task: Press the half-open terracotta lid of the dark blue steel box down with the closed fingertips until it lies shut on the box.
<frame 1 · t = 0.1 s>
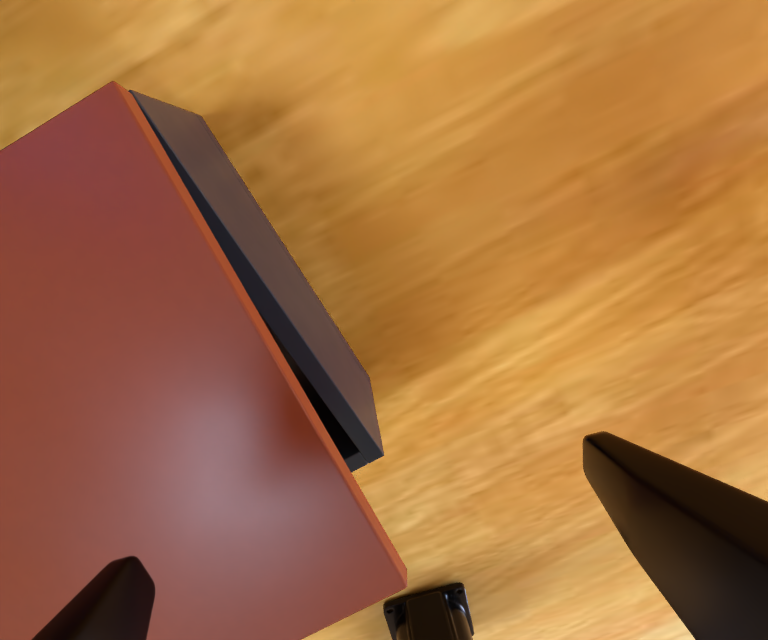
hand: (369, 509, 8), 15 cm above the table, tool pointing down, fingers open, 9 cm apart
lid: (93, 444, 12), point 10 cm above the table, hinge at 18.0°
box: (194, 323, 21), on the table
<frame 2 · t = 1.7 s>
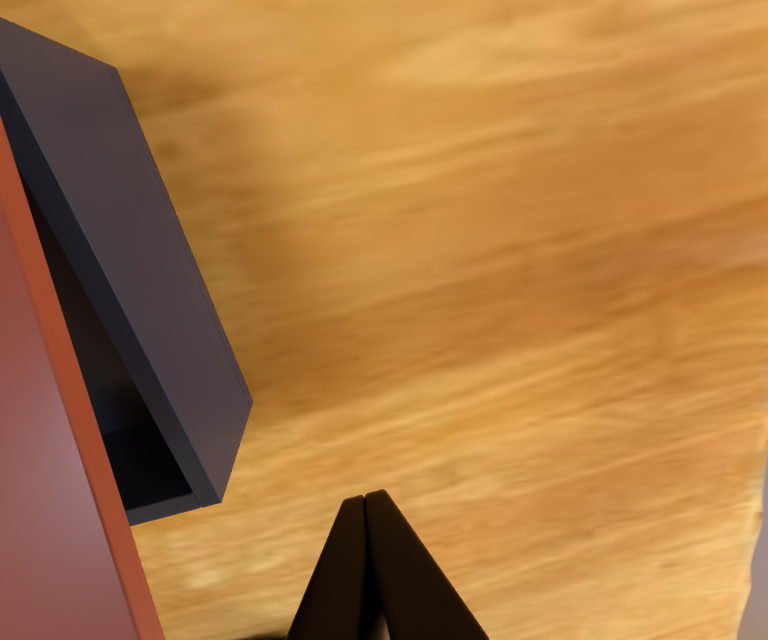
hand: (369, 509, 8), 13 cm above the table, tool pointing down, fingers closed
box: (58, 295, 18), on the table
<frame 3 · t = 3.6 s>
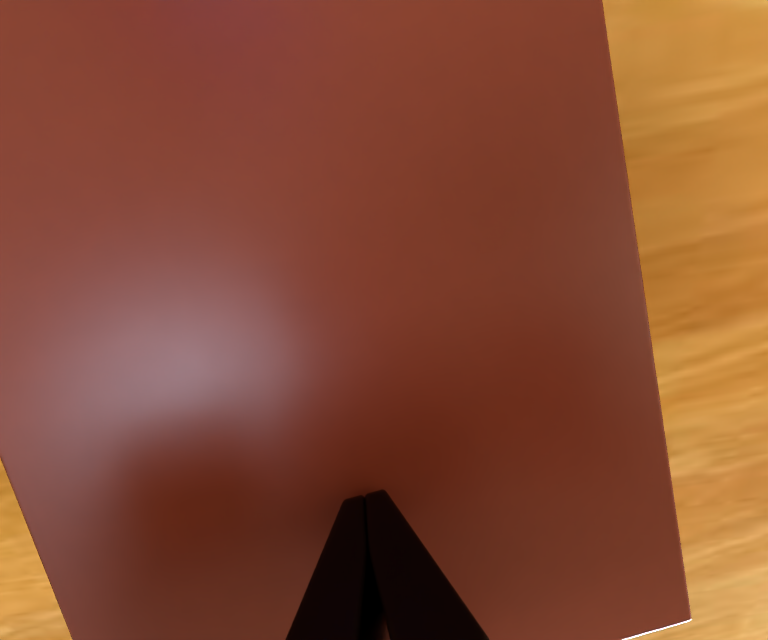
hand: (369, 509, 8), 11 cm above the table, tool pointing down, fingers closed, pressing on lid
lid: (325, 333, 8), point 9 cm above the table, hinge at 14.8°, touching gripper
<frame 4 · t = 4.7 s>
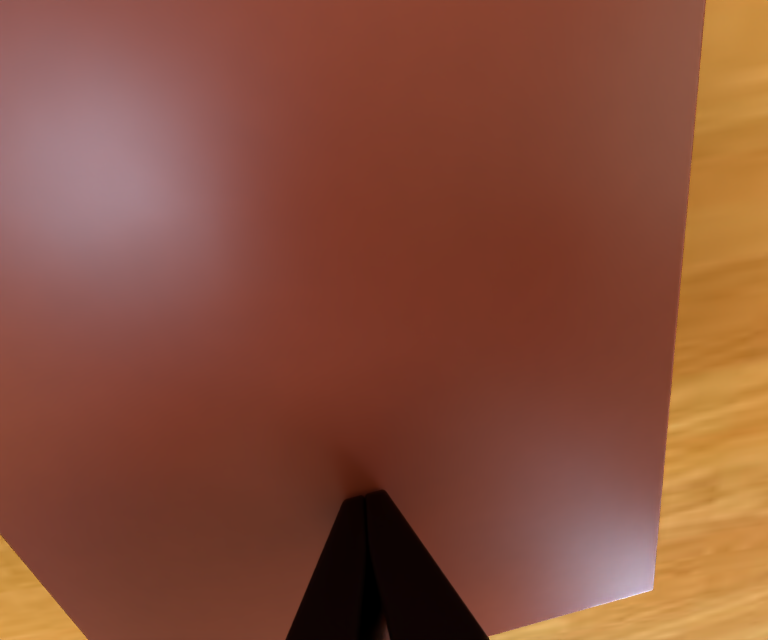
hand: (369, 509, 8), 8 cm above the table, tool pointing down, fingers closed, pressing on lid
lid: (329, 368, 7), point 7 cm above the table, hinge at -0.2°, touching box, gripper
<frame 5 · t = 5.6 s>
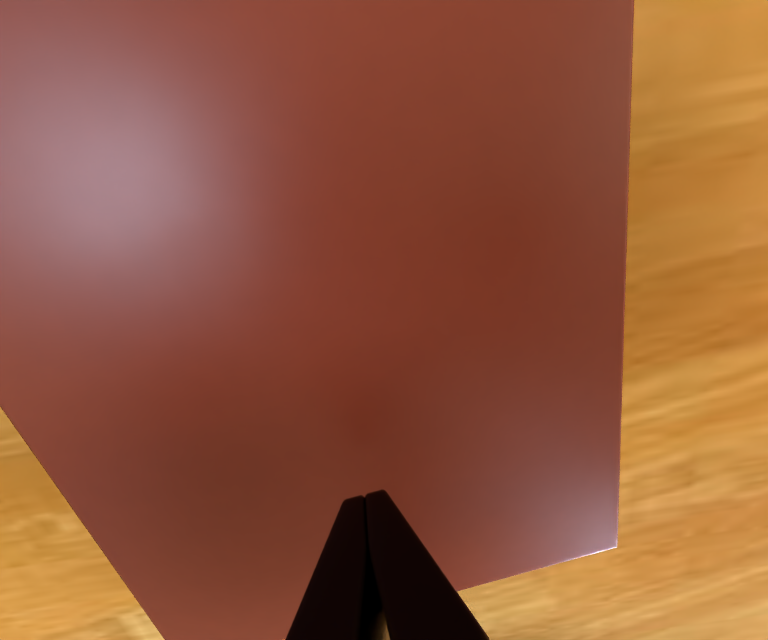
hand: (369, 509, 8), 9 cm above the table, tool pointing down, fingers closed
lid: (330, 344, 8), point 7 cm above the table, hinge at -0.2°, touching box
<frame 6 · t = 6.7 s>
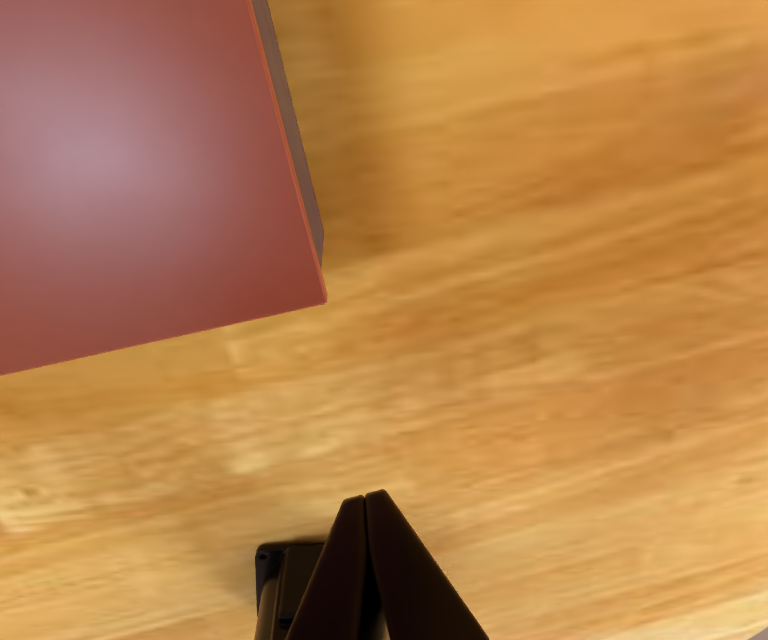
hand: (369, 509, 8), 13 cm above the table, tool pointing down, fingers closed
box: (109, 63, 15), on the table
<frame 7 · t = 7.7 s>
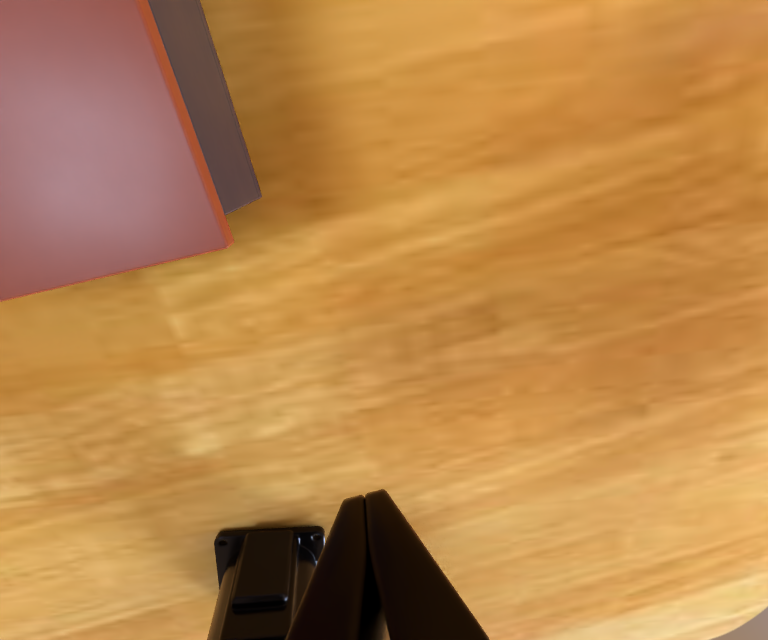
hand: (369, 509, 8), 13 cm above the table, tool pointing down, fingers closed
box: (21, 16, 14), on the table
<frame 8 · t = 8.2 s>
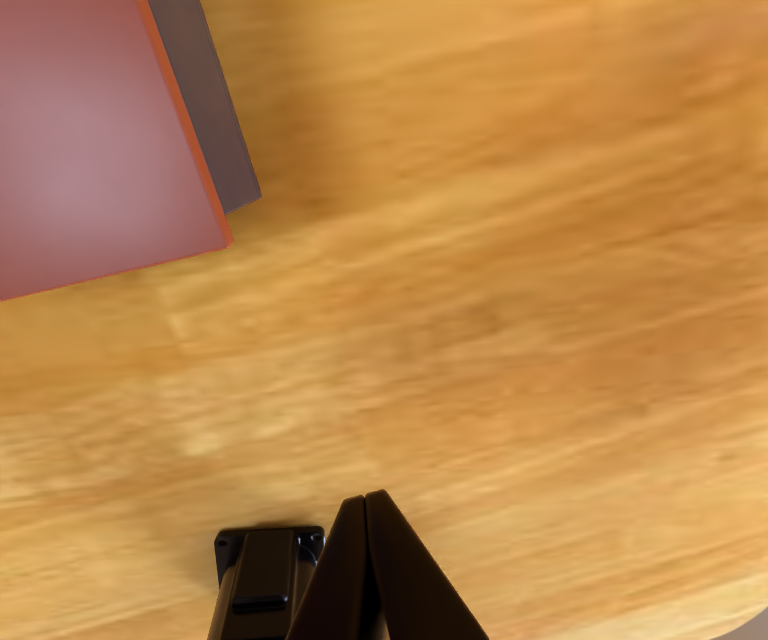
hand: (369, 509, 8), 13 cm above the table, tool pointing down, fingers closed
box: (21, 16, 14), on the table
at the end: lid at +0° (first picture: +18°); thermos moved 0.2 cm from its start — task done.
